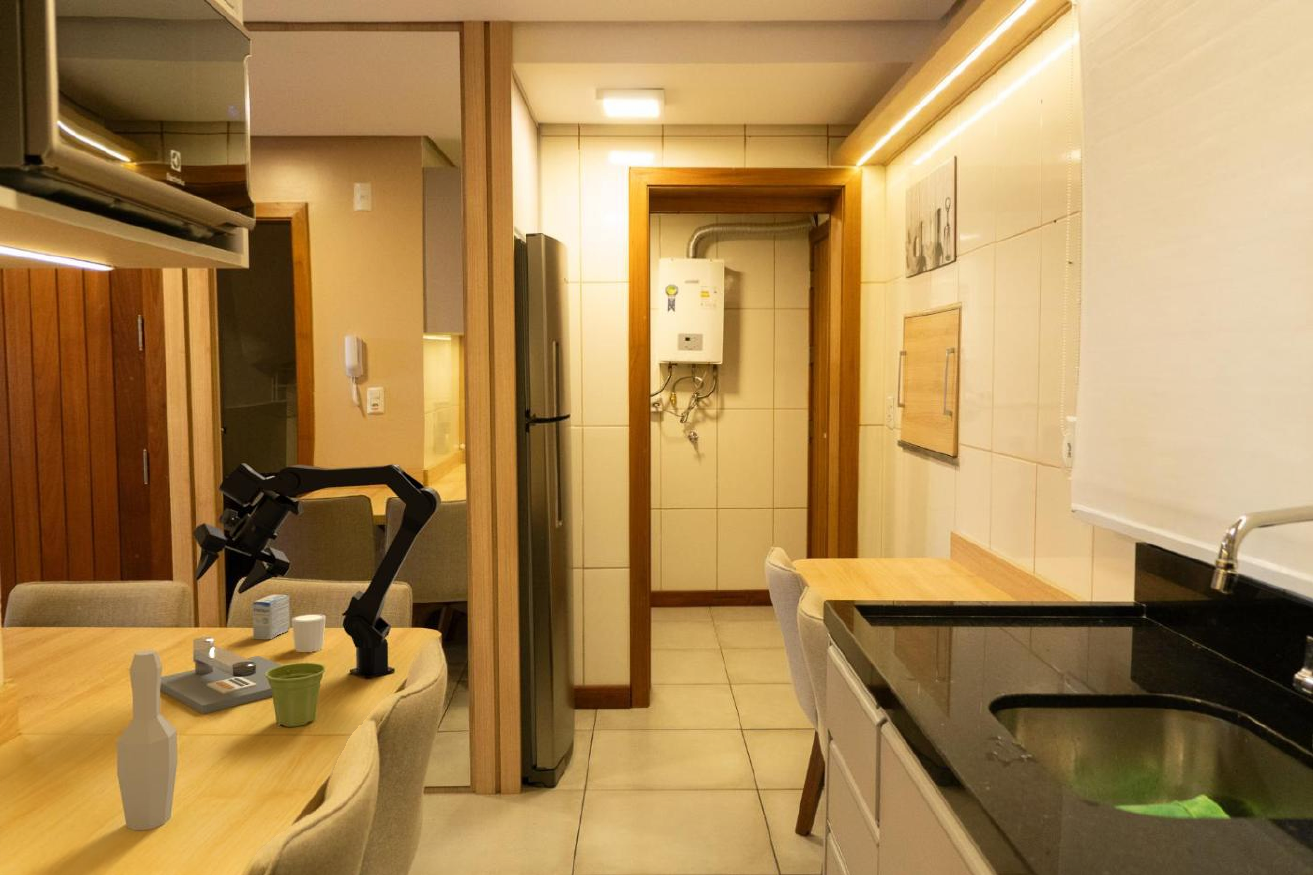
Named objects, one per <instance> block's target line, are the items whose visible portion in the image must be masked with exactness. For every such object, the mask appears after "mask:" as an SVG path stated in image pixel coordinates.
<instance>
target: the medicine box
mask: <svg viewBox="0 0 1313 875" xmlns="http://www.w3.org/2000/svg"><path fill="white" fill-rule="evenodd" d="M290 603H291V602H290V595H286V594H270V595H268V596H265V597H263V598H260V599H258V600H255V601H253V604H252V606H253V607H252V614H253V615H252V621H253V622H252V624H253V625H252V626H253V627H252V629H253V634H252V637H253V639H254V638H255V639H254V640H259V639H271V640H273V639H275V638H276V637H275V636H277V635H279V634H281V635H283V634H282V633H284V634H285V632H286V633H288V632H289V631H290V629H291V628H290V627H291V626H290V622H291V621H290V618H291V617H290V608H291V607H290V605H291V604H290ZM288 630H289V631H288ZM287 631H288V632H287ZM279 636H280V635H279ZM274 637H275V638H274ZM277 637H278V636H277ZM272 638H273V639H272Z"/></svg>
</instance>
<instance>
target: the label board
mask: <svg viewBox="0 0 1313 875" xmlns="http://www.w3.org/2000/svg"><path fill="white" fill-rule="evenodd" d="M245 658H246V659H248V660H251V661H253V662H255V663H256V673H255V674H253V675H250V676H245V677H234V676H232V675H229V674H227V673H225V672H223V671H221V670H219V669H216V668H214V667H212V666H210V665H208V664H206V663H196V662H194V664H195V665H194V669H192V670H187V671H182V672H178V673H173V674H169V675H164V676H161V685H160V692H162V693H164V694H166V695H168V696H170V697H171V698H173V699H175V700H177V701H179V702H180V703H182V704H184V705H186V706H188V707H189V708H191V709H193V710H195V711H197V712H198V713H201V714H202V715H205V714H209V713H213V712H216V711H221V710H225V709H229V708H233V707H236V706H240V705H241V706H242V705H244V704H248V703H251V702H256V701H260V700H262V699H263V700H264V699H268V698H271V697H272V691H271V686H270V685H269V682H268V678H266V676H265V673H266V672H267V671H268V670H270V669H272V668H275V667H278V666H282V665H281V664H279V663H277V662H274V661H271V660H270V659H268V658H265V657H263V656H260V655H257V656H252V657H245ZM272 698H273V697H272Z"/></svg>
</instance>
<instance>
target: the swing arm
mask: <svg viewBox="0 0 1313 875" xmlns="http://www.w3.org/2000/svg"><path fill="white" fill-rule="evenodd" d="M192 649H193V650H192V651H193V652H192V655H193V660H192V661H193V663H206V664H208V665H210V666H212V667H214V668H216V669H219V670H221V671H223V672H225V673H227V674H229V675H232V676H234V677H245V676H250V675H253V674H255V673H256V663H255V662H253V661H251V660H248V659H246V658H247V657H243V656H242V655H239V654H236V653H234V652H232V651H229V650H227V649H225V648H222V647H220V646H217V645H216V646H215V637H213V636H204V637H203V636H202V637H198V638H195V639H193V640H192Z"/></svg>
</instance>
